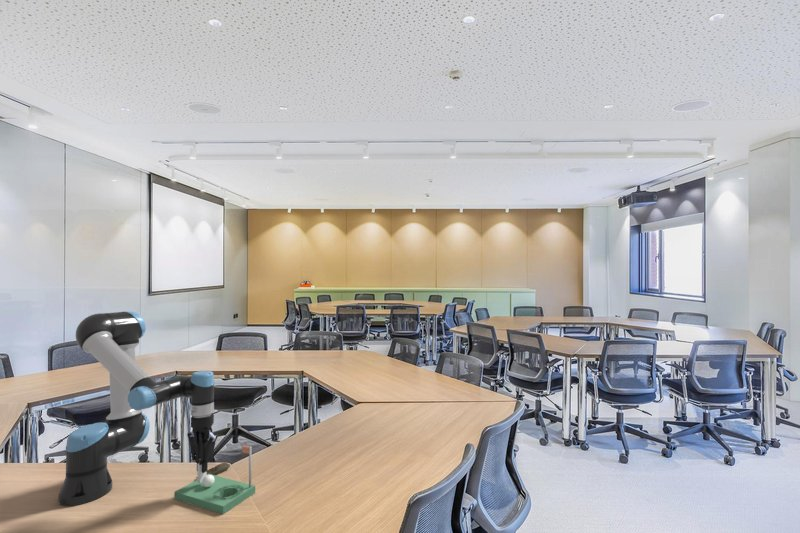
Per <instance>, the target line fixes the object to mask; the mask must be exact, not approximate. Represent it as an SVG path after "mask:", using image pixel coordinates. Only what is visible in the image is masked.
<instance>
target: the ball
mask: <svg viewBox="0 0 800 533" xmlns="http://www.w3.org/2000/svg"><path fill="white" fill-rule="evenodd" d="M214 480H215V479H214V476H212V475H207V476H205V477H204V478H203V480H202V484H203V486H204V487H210V486H212V485H213V483H214Z"/></svg>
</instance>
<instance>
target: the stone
mask: <svg viewBox="0 0 800 533" xmlns="http://www.w3.org/2000/svg"><path fill="white" fill-rule="evenodd" d="M230 467H231V465H230V464H229V463H228V462H222V463H219V464H217V465H215V466H214V467H211V468H209V469H208V470H207V474H212V475H215V476H218V475H219V474H221V473H224V472H225V471H226V470H228V469H229V468H230ZM195 479H197V476H196V478H195Z"/></svg>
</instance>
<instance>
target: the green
mask: <svg viewBox="0 0 800 533" xmlns="http://www.w3.org/2000/svg"><path fill="white" fill-rule="evenodd" d="M241 448H242V451H241V452H242V453H244V454H248V483H246V482H242V481H239V480H234V479H230V478H226V477H223V476H220V475H219V476H218V475H212V474H207V475H212V476H214V479H215V480H214V483H213V485H212V486H210V487H204V486H203V484H202V482H201V483H198V482H197V479H196V480H194V481H192V482H190V483H189V484H187V485H184V486H183V487H181V488H179V489H177V490H175V491H174V494H173V496H174V500H176V501H180V502H182V503H185V504H189V505H192V506H195V507H198V508H202V509H204V510H205V509H206V510H209V511H212V512H215V513H218V514H221V515H225V514H226V513H227V512H229V511H231V510H232V509H233V508H236V506H238V505H239V504H241V503H242V502H244V501H245V500H247V499H249V498H250V497H252V495H254V494H256V485H254V484H252V446H246V445H242V447H241Z"/></svg>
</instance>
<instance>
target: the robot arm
mask: <svg viewBox="0 0 800 533" xmlns="http://www.w3.org/2000/svg"><path fill="white" fill-rule="evenodd" d="M146 326H147V325H146V322H145V320H144V318H143V317H142V316H141V315H140V314H139V313H138V312H135V311H118V312H117V311H116V312H103V313H101V312H100V313H94V314H91V315H88V316H87V317H85V318H83V319H82V320H81V321H80V323H79V324H78V326H77V327H76V330H75V339H76V343H77V345H78V347H79V348H80V349H81V350H82V351H83V352H85V353H86V354H91V355H92V356H93V357H94V358H95V359H96V360H97V361H98V362H99V363H100V364H101V365H102V366H103V367H104V368H105V369H106V370H107V371H108V372H109V373H108V374H109V398H110V404H109V405H110V413H109V414H107V416H106V417H105V422H94V423H89V424H86V425H84V426H80V427H79V428H77V429H75V430H73V431H72V432H71V433H70V434H69V435H68V437H67V439H66V445H65V451H66V453H65V478H64V480H63V483H62V485H61V489H60V491H59V492H58V498H57V499H58V500H57V502H59V503H60V504H59V503H58V504H59V505H61V506H66V505H70V506H78V505H81V504H86V503H88V502H92V501H94V500H97V499H100V498H102V497H103V496H106V495H107V494H108V493H110V492H111V490H112V489H113V479H112V477H111V474H110V472H109V469H108V458H109V457H111V456H113V455H116V454H118V453H121V452H124V451H126V450H128V449H132V448H135V447H136V446H137V445H139V444H142V443H143V442H144V441H145V439H146V438H147V437H148V434H149V431H150V425H151V424H150V421H149V418H148V416H147V415H146V414H144V413H143V411H142V410H145V409H150V408H152V407H155V406H158V405H160V404H164V403H168V402H171V401H174V400H176V399H179V398H187V399H188V398H189V399H190V416H191V417H190V428H192V430H191V431H190V432H187V435H186V436H187V438H188V442H189V448H190V454H191V460H192V461H195V463H196V471H197V472H196V473H197V474H196V477H197V478H196V480H197V482H198V483H201V482H202V480H203V478H204V477H205V476H207V470H209V469H208V468H209V467H208V465H209V464H208V463H210V462H211V461H213V457H214V451H215V447H216V441H217V440H218V437H219V436H218V434H215V435H214V433H213V428H212V426H213V425H214V423H215V422H214V420H215V415H214V414H215V413H214V412H215V377H214V375H215V374H214V372H213V371H211V370H200V371H195V372H192V373H191V375H183V374H177V375H170V376H168V377H166V379H165V380H160V381H158V382H156V381H155V380H153V378H152V377H151V376H149V374H148V373H147V372H145V370H144V369H143V368H141V366H140V365H139V364H138V363H137V362H136V347H137V346H138V345H139V344H140V339H141V338H142V337H143V336H144V335H145V332H146V330H147V329H146Z"/></svg>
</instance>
